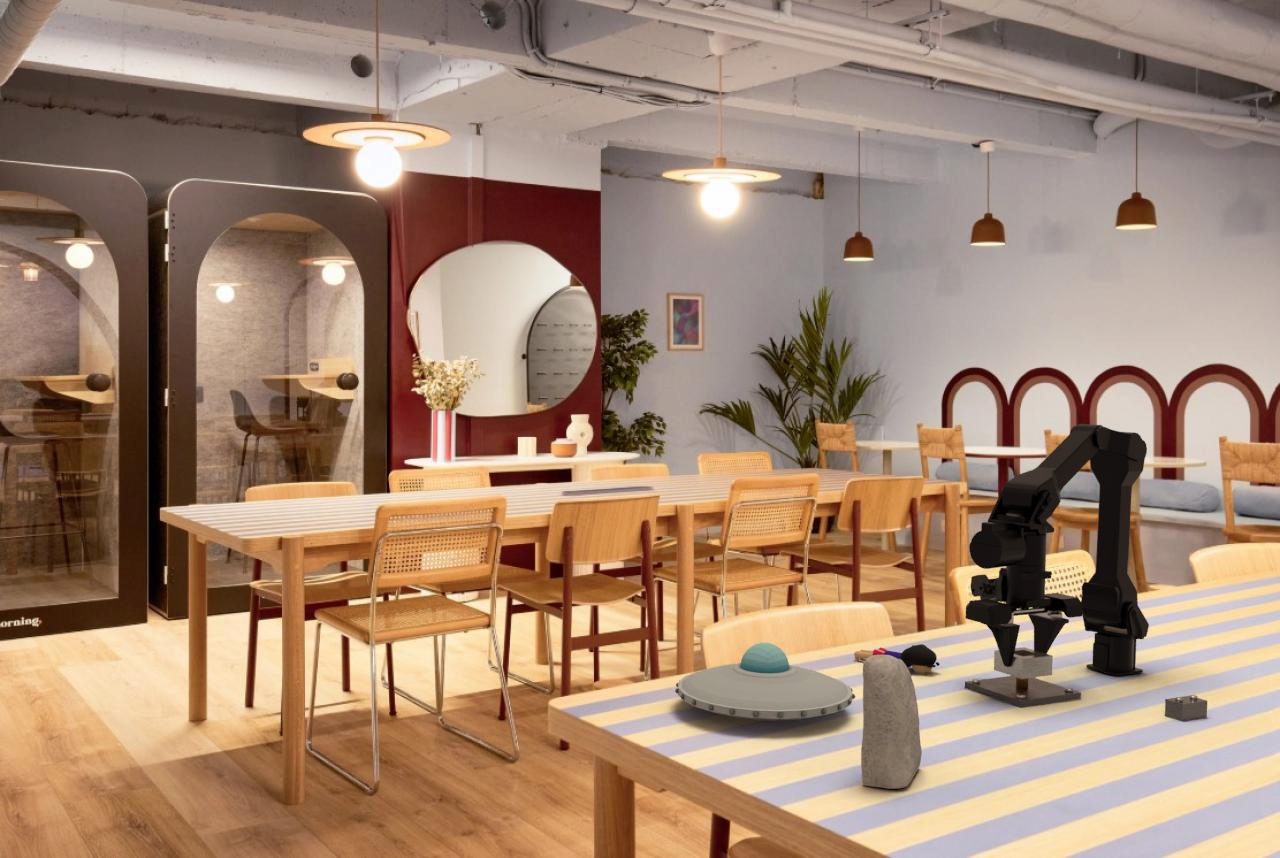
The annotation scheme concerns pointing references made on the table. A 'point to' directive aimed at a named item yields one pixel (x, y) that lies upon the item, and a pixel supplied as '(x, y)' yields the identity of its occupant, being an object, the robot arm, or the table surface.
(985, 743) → the table surface
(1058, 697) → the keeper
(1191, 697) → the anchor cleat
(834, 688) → the toy
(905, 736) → the decorative stone
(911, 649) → the toy
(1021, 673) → the socket
